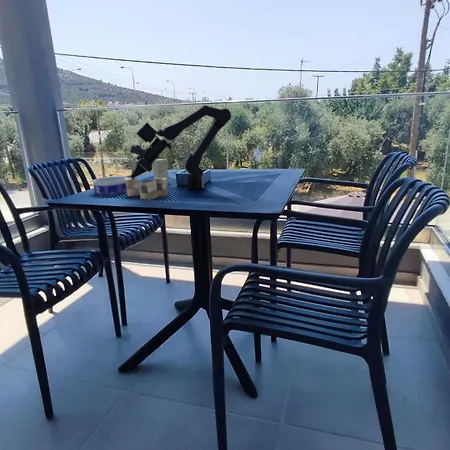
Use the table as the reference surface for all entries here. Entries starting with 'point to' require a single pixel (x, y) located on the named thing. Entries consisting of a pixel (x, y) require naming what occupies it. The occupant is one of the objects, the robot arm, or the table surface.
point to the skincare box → (160, 169)
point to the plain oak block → (132, 186)
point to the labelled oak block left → (161, 186)
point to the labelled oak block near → (148, 189)
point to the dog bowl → (110, 185)
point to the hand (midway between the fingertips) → (131, 177)
